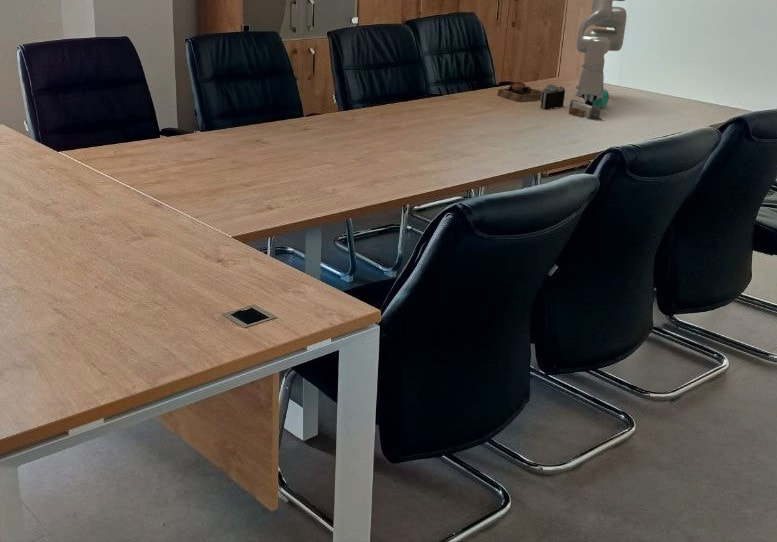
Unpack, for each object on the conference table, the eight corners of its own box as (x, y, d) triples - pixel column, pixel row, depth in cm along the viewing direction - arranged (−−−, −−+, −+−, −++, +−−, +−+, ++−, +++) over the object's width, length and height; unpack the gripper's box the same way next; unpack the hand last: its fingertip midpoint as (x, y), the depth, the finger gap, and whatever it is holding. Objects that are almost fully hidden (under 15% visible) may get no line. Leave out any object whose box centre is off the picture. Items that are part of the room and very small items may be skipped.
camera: (552, 103, 416) (555, 81, 412) (564, 106, 412) (567, 84, 408) (533, 107, 406) (536, 84, 402) (546, 110, 401) (548, 87, 398)
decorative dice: (584, 107, 413) (586, 89, 410) (590, 104, 419) (593, 87, 416) (600, 109, 409) (603, 92, 406) (607, 107, 415) (609, 89, 412)
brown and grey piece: (568, 113, 396) (570, 101, 394) (579, 112, 400) (581, 100, 398) (593, 121, 385) (595, 108, 383) (604, 119, 388) (606, 107, 386)
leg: (594, 116, 392) (596, 107, 390) (587, 117, 390) (589, 107, 389) (574, 109, 405) (575, 100, 404) (567, 109, 404) (568, 100, 402)
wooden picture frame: (497, 95, 427) (498, 89, 426) (526, 93, 436) (527, 87, 435) (520, 102, 414) (520, 95, 413) (549, 99, 424) (550, 93, 423)
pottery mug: (503, 99, 422) (504, 82, 423) (512, 105, 430) (513, 89, 431) (526, 96, 415) (528, 79, 417) (535, 103, 423) (537, 86, 424)
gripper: (574, 66, 392) (568, 109, 399) (608, 71, 386) (602, 114, 393) (578, 64, 399) (573, 106, 405) (612, 69, 393) (606, 111, 399)
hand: (587, 110), depth 399 cm, fingers closed
